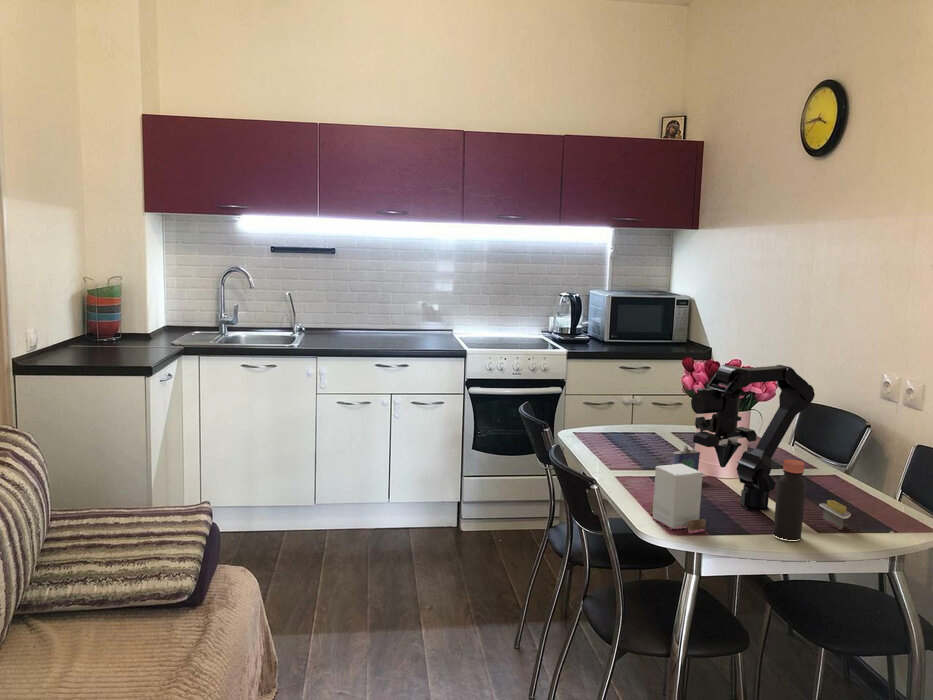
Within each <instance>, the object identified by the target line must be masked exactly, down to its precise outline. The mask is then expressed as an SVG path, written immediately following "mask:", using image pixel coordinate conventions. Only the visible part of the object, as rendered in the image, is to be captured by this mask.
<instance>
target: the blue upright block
mask: <svg viewBox="0 0 933 700" xmlns="http://www.w3.org/2000/svg"><path fill="white" fill-rule="evenodd" d="M682 448H683V450H682V451H681V450H680V451H674V452H673V455H672V456H673V457H672V465H673V464H684V465H686V466H688V467H690V468H693V469H695V470H697V471H699V466H700V465H699V464H700V455H701V453H700V451H698V450H695V449H689V446H688V445H684V446H682Z"/></svg>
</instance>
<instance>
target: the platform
mask: <svg viewBox="0 0 933 700" xmlns="http://www.w3.org/2000/svg"><path fill="white" fill-rule="evenodd" d="M826 501H827V503H823V502H821V503H819V507H821V508H823V514H822V516H823V517H822V520H823V519H825V520H827V521H829V522H832V523H834V524H835V525H837V526H839V527H840V528H844V519H849V517H851V513H850V512H849V511H847V506H846V505H843V504H841V503H840V502H838V501H835V500H833V499H829V500H826Z"/></svg>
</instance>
